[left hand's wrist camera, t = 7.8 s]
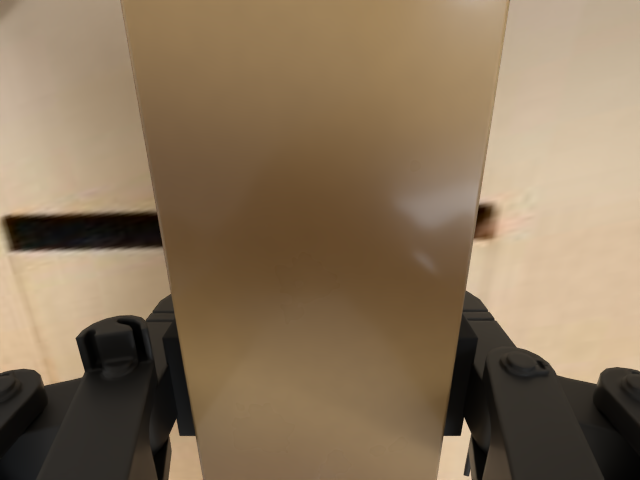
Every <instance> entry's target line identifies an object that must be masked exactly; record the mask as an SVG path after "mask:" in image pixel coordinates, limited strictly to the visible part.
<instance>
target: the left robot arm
mask: <svg viewBox="0 0 640 480" xmlns="http://www.w3.org/2000/svg"><path fill="white" fill-rule="evenodd" d="M76 341H77V345H78V348H79V352H80V355H81V359H82V362H83V366H84V370H85V373H84V375H83V377H82V378H78V379H74V380H70V381H65V382H60V383H55V384H51V385H46V386H44V384H43V381H42V378H41V375H40V374H38V373H37V372H36V371H35V370H29V369H18V370H11V371H6V372H3V373H0V480H168V478H169V469H170V461H171V452H172V450H171V443H170V438H169V434H170V432H171V429H172V427H173V425H174V423H175V420H176V418H177V424H178V429H179V435H180V436H196V434H195V429H194V423H193V417H192V411H191V406H190V400H189V394H188V388H187V382H186V377H185V371H184V365H183V359H182V353H181V348H180V342H179V336H178V330H177V324H176V319H175V313H174V307H173V301H172V296H171V294H170V295H169V296H167V297H166V298H164V299H163V300H161V301H160V302H159V304H158V305H157V306H156V307H155V309H154V310H153V313H151V314H150V315H149V317H148V318H147V319H146V321H145V320H144V319H143V318H141V317H137V316H133V315H126V316H116V317H111V318H107V319H104V320H101V321H99V322H96V323H94V324H92V325H90V326H89V327H87V328H86V329H84V330H83V331H82V332H81V333H80V334H79V335H78V336H77V337H76ZM464 418H465V420H466V422H467V425H468V427H469V429H470V431H471V438H470V443H469V448H468V453H467V458H466V464H465V470H464V475H465V476H469V473H470V468H471V477H472V480H640V372H639V371H638V370H633V369H628V368H620V367H615V368H608V369H605V370H604V371H603V372H602V373H601V374H600V377H599V379H598V382H597V384H593V383H588V382H583V381H579V380H574V379H569V378H565V377H561V376H558V375H556V373H555V371H554V369H553V368H552V367H551V365H550V364H549V363H548V362H547V361H545V360H544V359H543V358H541V357H540V356H538V355H536V354H534V353H532V352H530V351H527V350H524V349H520V348H517V347H516V346H515V345H514V343H513V342H512V341H511V339H510V338H509V337H508V336H507V334H506V333H505V332H504V330H503V329H502V328H501V326H500V325H499V324H498V323H497V321H495V320H494V317H493V316H492V315H491V313H490V312H488V309H487V308H486V307H485V306H484V304H483V303H482V302H481V300H480V299H478V298H477V297H475V296H474V295H472V294H471V293H469V292H467V291H465V297H464V304H463V311H462V317H461V324H460V330H459V337H458V343H457V350H456V356H455V363H454V370H453V376H452V383H451V389H450V396H449V402H448V409H447V415H446V422H445V429H444V435H443V436H461V431H462V425H463V420H464Z"/></svg>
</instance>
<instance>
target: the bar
mask: <svg viewBox="0 0 640 480" xmlns="http://www.w3.org/2000/svg"><path fill="white" fill-rule="evenodd" d="M509 2H510V0H121V6H122V12H123V18H124V23H125V29H126V35H127V41H128V47H129V52H130V58H131V64H132V70H133V76H134V81H135V87H136V93H137V99H138V104H139V110H140V116H141V122H142V128H143V133H144V139H145V145H146V151H147V157H148V162H149V168H150V174H151V180H152V186H153V191H154V197H155V203H156V209H157V214H158V220H159V226H160V232H161V238H162V243H163V249H164V255H165V261H166V267H167V272H168V278H169V284H170V290H171V296H172V301H173V307H174V313H175V319H176V324H177V330H178V336H179V342H180V348H181V353H182V359H183V365H184V371H185V377H186V382H187V388H188V394H189V400H190V406H191V411H192V417H193V423H194V429H195V434H196V440H197V446H198V452H199V458H200V463H201V469H202V475H203V480H437V474H438V468H439V461H440V455H441V448H442V442H443V435H444V429H445V422H446V415H447V409H448V402H449V396H450V389H451V383H452V376H453V370H454V363H455V356H456V350H457V343H458V337H459V330H460V324H461V317H462V311H463V304H464V297H465V291H466V284H467V278H468V271H469V265H470V258H471V252H472V245H473V238H474V232H475V225H476V219H477V212H478V206H479V199H480V193H481V186H482V179H483V173H484V166H485V160H486V153H487V147H488V140H489V134H490V127H491V120H492V114H493V107H494V101H495V94H496V88H497V81H498V75H499V68H500V61H501V55H502V48H503V42H504V35H505V29H506V22H507V16H508V9H509Z"/></svg>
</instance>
